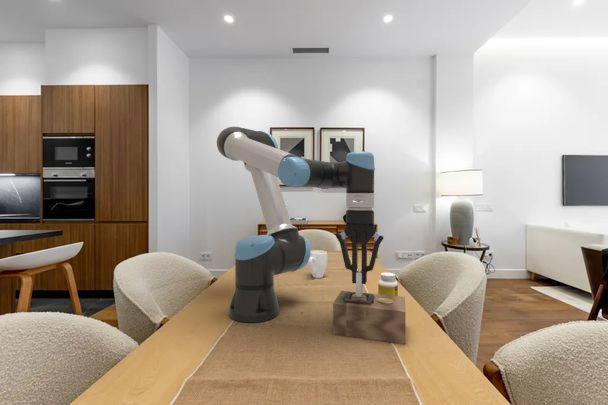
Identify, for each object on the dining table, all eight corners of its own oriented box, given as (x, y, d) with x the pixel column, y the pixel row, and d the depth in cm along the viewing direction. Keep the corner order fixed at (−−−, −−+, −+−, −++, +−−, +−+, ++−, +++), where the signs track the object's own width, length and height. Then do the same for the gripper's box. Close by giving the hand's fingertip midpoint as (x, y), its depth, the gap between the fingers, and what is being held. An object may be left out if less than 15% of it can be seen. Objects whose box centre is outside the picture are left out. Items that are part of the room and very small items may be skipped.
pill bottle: (398, 311, 97) (398, 276, 97) (378, 310, 98) (378, 275, 98) (396, 305, 103) (397, 272, 103) (377, 303, 104) (378, 271, 104)
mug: (314, 273, 145) (314, 249, 145) (330, 276, 141) (330, 251, 141) (301, 279, 135) (301, 253, 135) (318, 282, 131) (318, 255, 130)
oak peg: (350, 327, 83) (350, 297, 83) (352, 321, 87) (352, 293, 87) (365, 329, 82) (365, 299, 82) (366, 323, 86) (367, 294, 86)
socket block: (332, 334, 81) (333, 301, 81) (341, 317, 92) (341, 288, 92) (405, 344, 75) (405, 309, 75) (404, 325, 87) (404, 294, 87)
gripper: (333, 209, 83) (333, 297, 83) (383, 210, 79) (383, 302, 79) (338, 208, 90) (338, 289, 90) (385, 209, 86) (384, 293, 86)
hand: (359, 295), depth 85 cm, fingers closed
